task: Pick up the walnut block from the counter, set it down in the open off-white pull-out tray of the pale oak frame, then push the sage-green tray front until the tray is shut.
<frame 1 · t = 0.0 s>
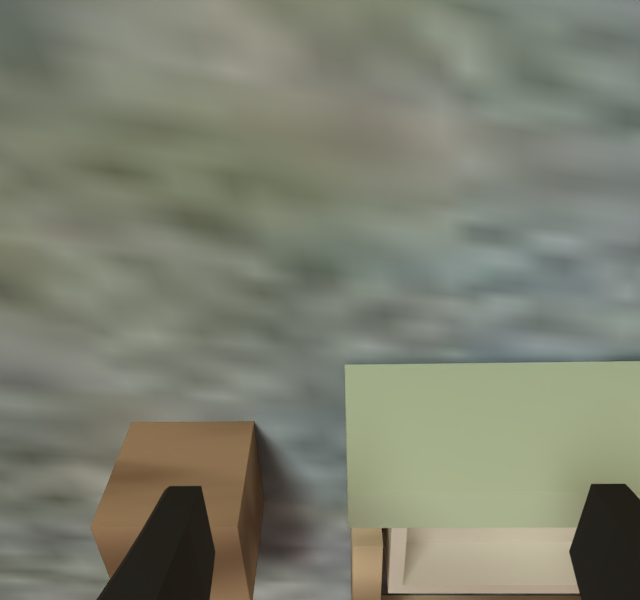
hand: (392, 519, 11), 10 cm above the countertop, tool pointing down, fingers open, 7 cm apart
walnut block: (201, 462, 25), on the countertop
pull-out tray: (529, 518, 22), point 3 cm above the countertop, slide at 5.0 cm
organiser frame: (492, 536, 28), on the countertop
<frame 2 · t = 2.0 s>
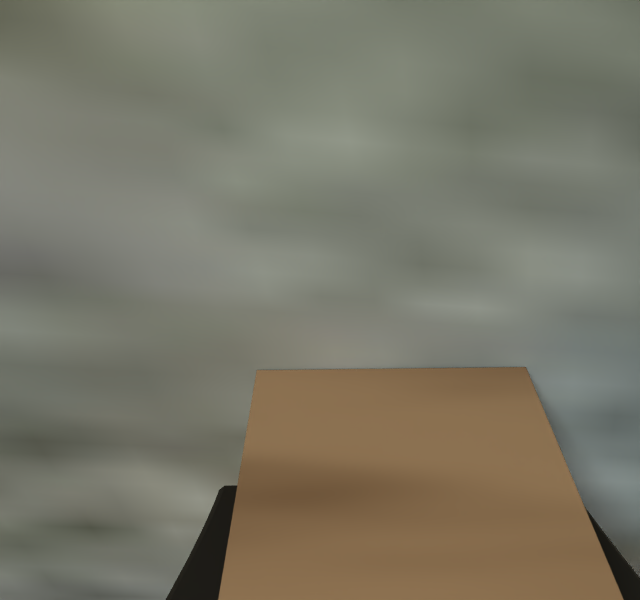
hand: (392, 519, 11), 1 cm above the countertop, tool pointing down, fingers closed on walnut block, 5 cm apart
walnut block: (386, 460, 12), on the countertop, touching gripper
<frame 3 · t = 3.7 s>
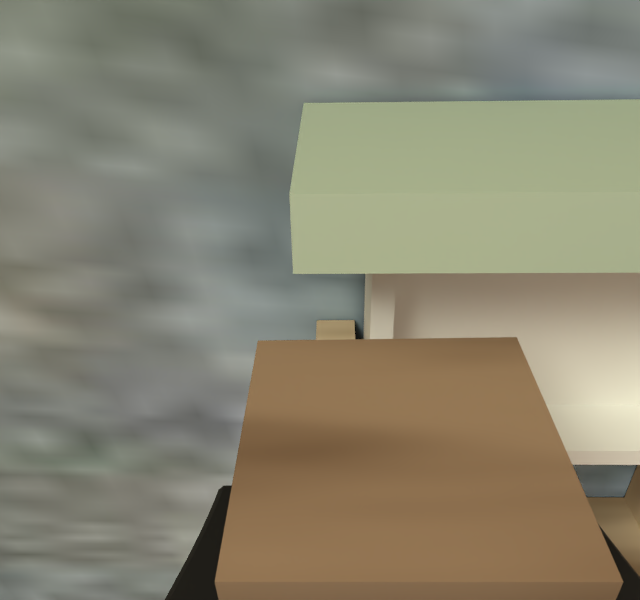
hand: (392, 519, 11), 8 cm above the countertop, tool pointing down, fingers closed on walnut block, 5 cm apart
walnut block: (383, 431, 13), point 6 cm above the countertop, touching gripper
pull-out tray: (568, 332, 15), point 3 cm above the countertop, slide at 5.0 cm
organiser frame: (506, 405, 21), on the countertop
when the fingers open (4 cm above the countertop, at t = 5.6 s): walnut block stays where it is, resting on pull-out tray.
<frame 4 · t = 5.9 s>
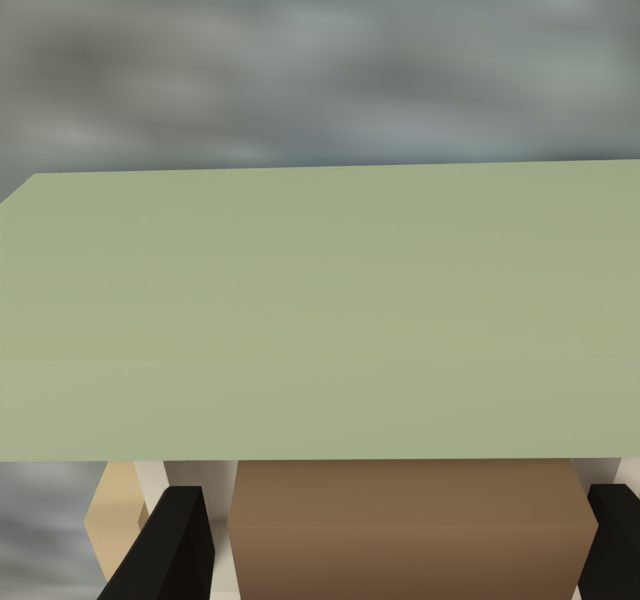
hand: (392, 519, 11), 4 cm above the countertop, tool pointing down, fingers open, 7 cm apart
walnut block: (381, 404, 14), point 1 cm above the countertop, touching pull-out tray
pull-out tray: (389, 467, 12), point 3 cm above the countertop, slide at 5.0 cm, touching walnut block
organiser frame: (375, 512, 17), on the countertop
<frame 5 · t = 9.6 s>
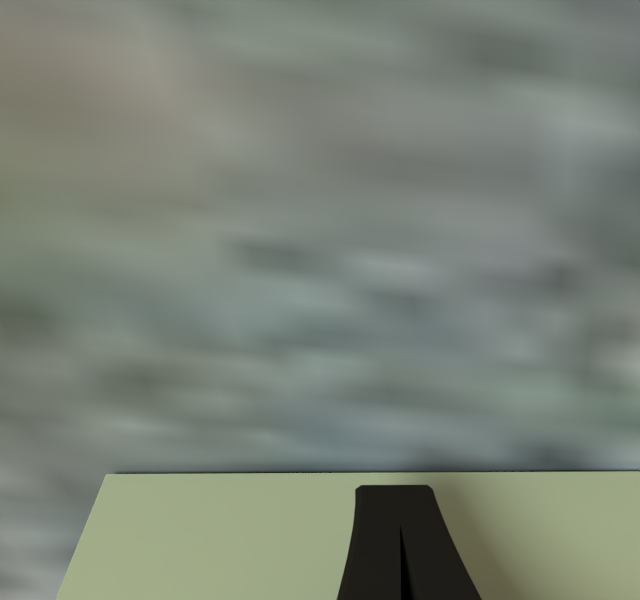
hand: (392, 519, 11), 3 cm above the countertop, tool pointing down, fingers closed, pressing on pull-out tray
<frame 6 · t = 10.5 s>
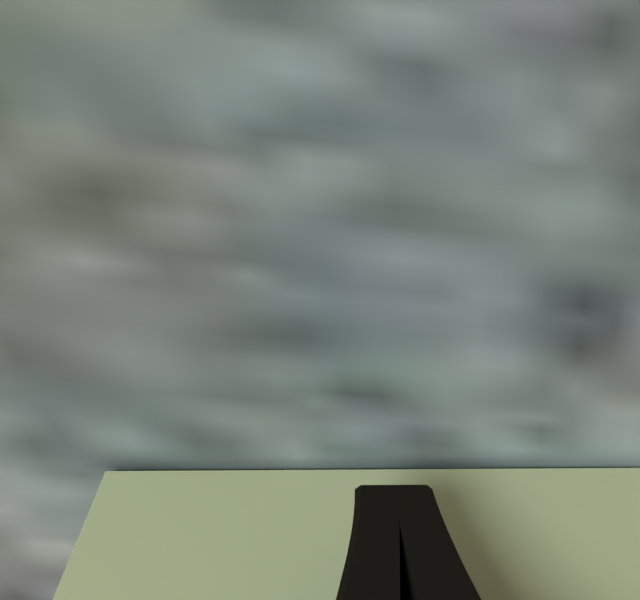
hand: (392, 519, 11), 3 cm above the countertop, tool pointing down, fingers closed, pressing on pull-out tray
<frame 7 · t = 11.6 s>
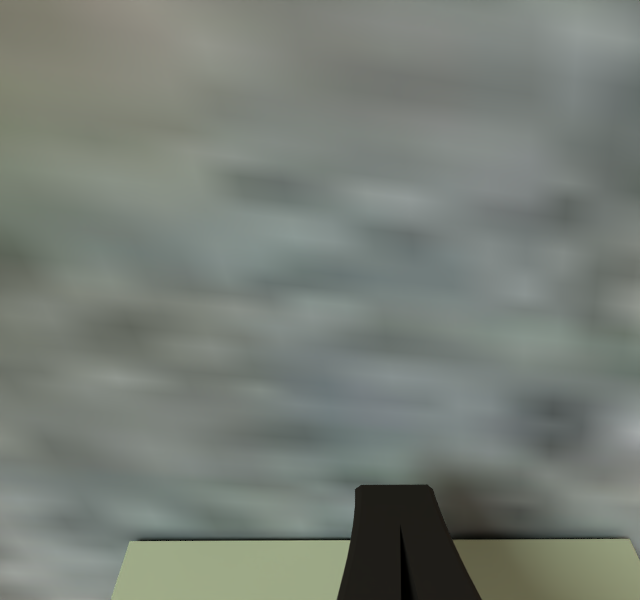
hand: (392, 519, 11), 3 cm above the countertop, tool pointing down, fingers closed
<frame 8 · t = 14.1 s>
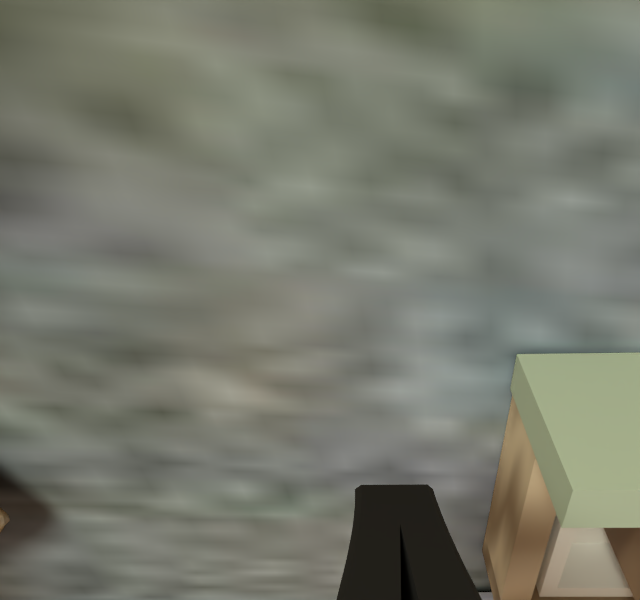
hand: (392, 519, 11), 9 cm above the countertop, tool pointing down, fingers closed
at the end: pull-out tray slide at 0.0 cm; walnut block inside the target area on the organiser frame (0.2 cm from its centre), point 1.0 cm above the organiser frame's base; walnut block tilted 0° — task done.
